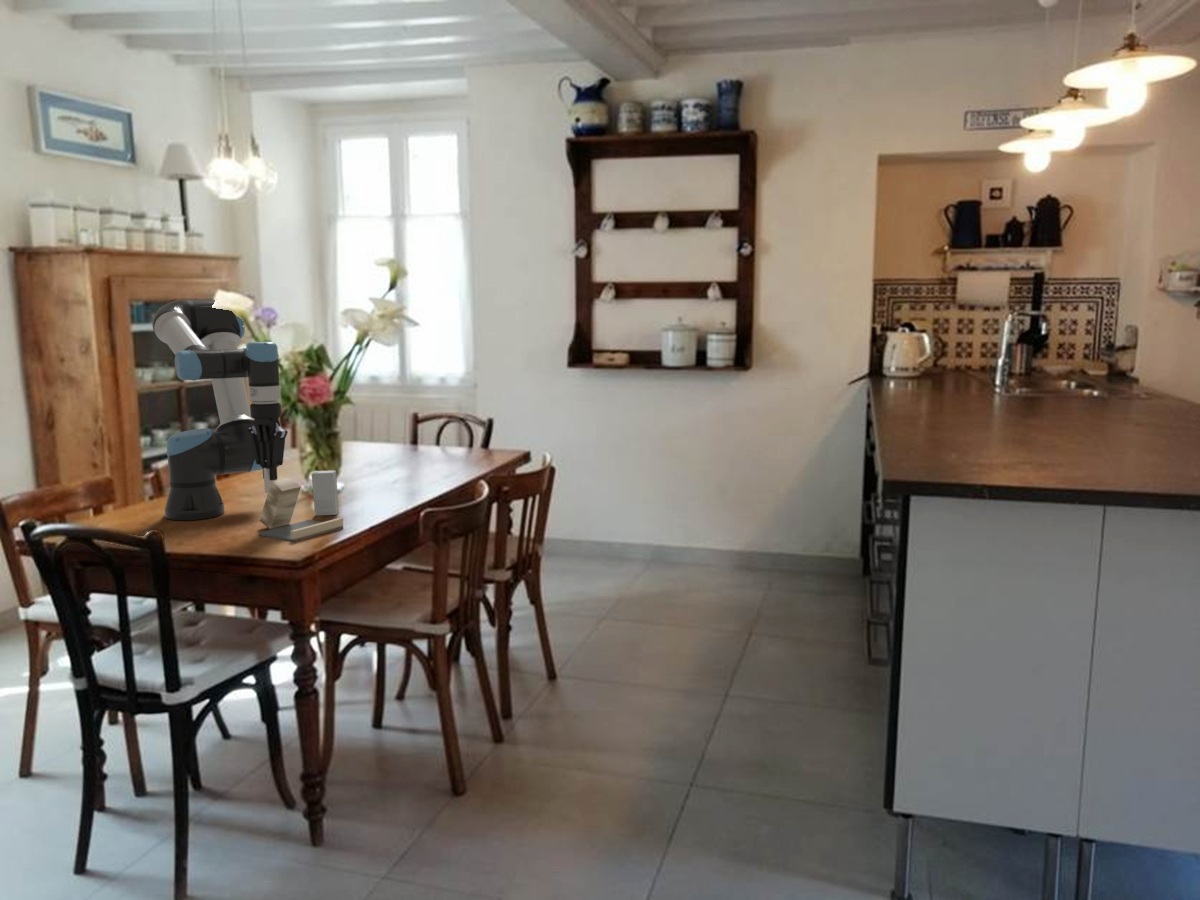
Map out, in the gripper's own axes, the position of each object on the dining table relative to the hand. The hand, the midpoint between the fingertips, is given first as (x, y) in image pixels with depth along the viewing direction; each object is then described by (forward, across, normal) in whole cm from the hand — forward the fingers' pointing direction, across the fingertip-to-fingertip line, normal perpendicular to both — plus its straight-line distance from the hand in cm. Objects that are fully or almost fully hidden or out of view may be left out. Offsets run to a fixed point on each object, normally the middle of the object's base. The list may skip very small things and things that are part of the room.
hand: (271, 492), depth 238 cm
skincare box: (+9, +1, +17) cm, 20 cm away
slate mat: (+9, +11, 0) cm, 14 cm away
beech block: (+8, 0, 0) cm, 8 cm away
